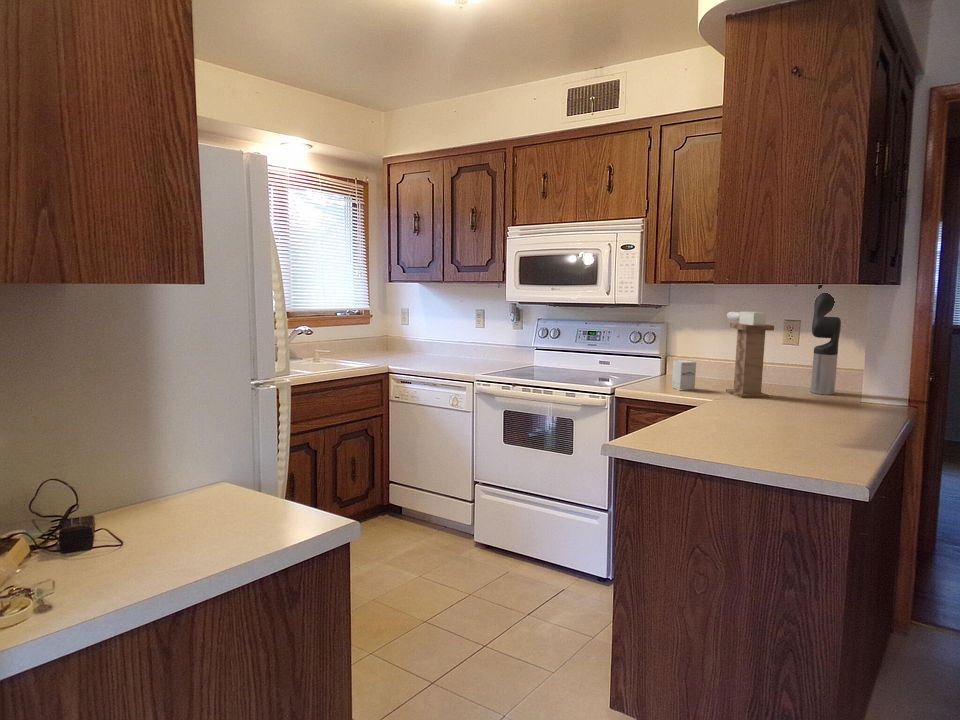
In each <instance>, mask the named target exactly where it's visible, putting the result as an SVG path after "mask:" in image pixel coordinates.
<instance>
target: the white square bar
mask: <svg viewBox="0 0 960 720" xmlns="http://www.w3.org/2000/svg"><path fill="white" fill-rule="evenodd" d="M726 317H727V320H730V321H736V322H738V323H741V324H748V325H765V324H766V317H767V316H766V313H765V312H757V311H739V312H738V311H729V312H728V313H727V314H726Z"/></svg>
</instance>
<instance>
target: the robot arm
mask: <svg viewBox="0 0 960 720" xmlns="http://www.w3.org/2000/svg"><path fill="white" fill-rule="evenodd" d="M794 286H796V287H797V286H798V284H797V285H795V284H794ZM822 286H823V285H818V289H820V288H822ZM834 303H835V301H834V298H833V297H832V296H831V295H830V294H828V293H822V294H820V295H819V296H818V297H817V298H816V300H815V303H814V302H813V304H814V305H813V307H814V309H813V317H812V324H811V334H812V336H814V337H815V338H819V339H821V338H822V339H830V340H829V341H827V343H824V344H819V345H815V346H814V348H813V360H812V368H811V369H812V371H811V385H810V393H812V394H816V395H827V396H828V395H834V394H835V392H836V391H835V390H836V380H837V379H836V378H837V367H838V355H839V342H840V340H839V339H840V334H841V328H842V321H841V318H840V317H838V316H826V315H827V314H829V313H830V312H832V311H833V310H832V308H833V306H834Z"/></svg>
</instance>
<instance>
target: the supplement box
mask: <svg viewBox="0 0 960 720" xmlns="http://www.w3.org/2000/svg"><path fill="white" fill-rule="evenodd" d="M672 362H673V364H672V365H673V366H672V377H671V378H672V380H671V388H672V387H674V388H677V389H695V388H696V387H695V386H696V370H697V362H696V361H693V360H683V359H681V360H679V359H678V360H675V359H674V360H673V361H672ZM674 388H673V389H674Z"/></svg>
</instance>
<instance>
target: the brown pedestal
mask: <svg viewBox="0 0 960 720" xmlns="http://www.w3.org/2000/svg"><path fill="white" fill-rule="evenodd" d="M729 328H730V329H734V330H735V329H737V333H736V334H737V335H736V348H735V349H736V350H735V361H734V362H735V363H734V364H735V366H734V375H733V377H734V379H733V389H730V388H729V389H725V393H727V394H730V395H732V396H735V397H737V396H738V398H740V397H741V398H740V399H769V398H770V395H769V394H767V393H766V392H765V393H764V392H762V387H763V386H762V385H763V384H762V383H763V372H764V371H763V369H764V357H765V343H766V342H765V340H766V331H775V325H771V324H766V323H765V325H748V324H741V323H739V322H730V323H729Z"/></svg>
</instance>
